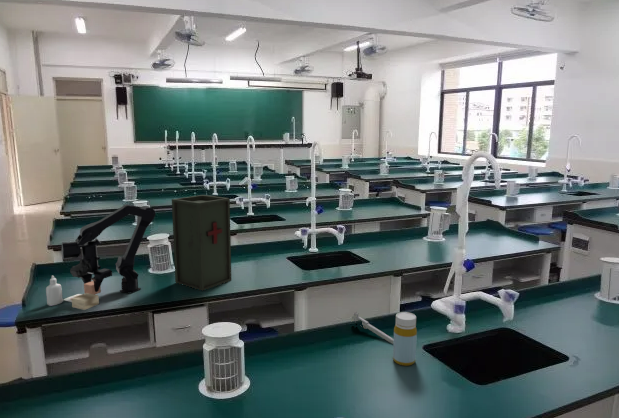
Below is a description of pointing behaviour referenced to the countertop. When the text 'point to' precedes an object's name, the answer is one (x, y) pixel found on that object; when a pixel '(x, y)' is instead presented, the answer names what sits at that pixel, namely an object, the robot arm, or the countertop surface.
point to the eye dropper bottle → (54, 293)
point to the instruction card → (71, 298)
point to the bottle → (405, 339)
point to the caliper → (371, 327)
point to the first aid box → (202, 241)
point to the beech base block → (85, 301)
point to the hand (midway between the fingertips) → (92, 290)
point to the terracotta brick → (91, 288)
